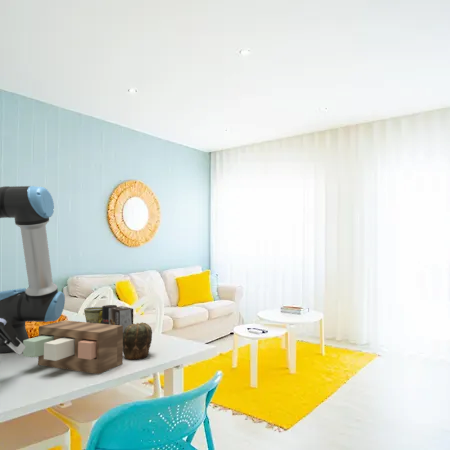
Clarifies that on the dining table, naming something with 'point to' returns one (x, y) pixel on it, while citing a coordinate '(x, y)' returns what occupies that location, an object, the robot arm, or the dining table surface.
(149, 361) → the dining table surface
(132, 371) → the dining table surface
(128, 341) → the shell
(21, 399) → the dining table surface
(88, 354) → the key terracotta
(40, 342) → the key sage
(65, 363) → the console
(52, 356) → the key cream
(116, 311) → the coffee box
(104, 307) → the deodorant
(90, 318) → the ceramic cup
